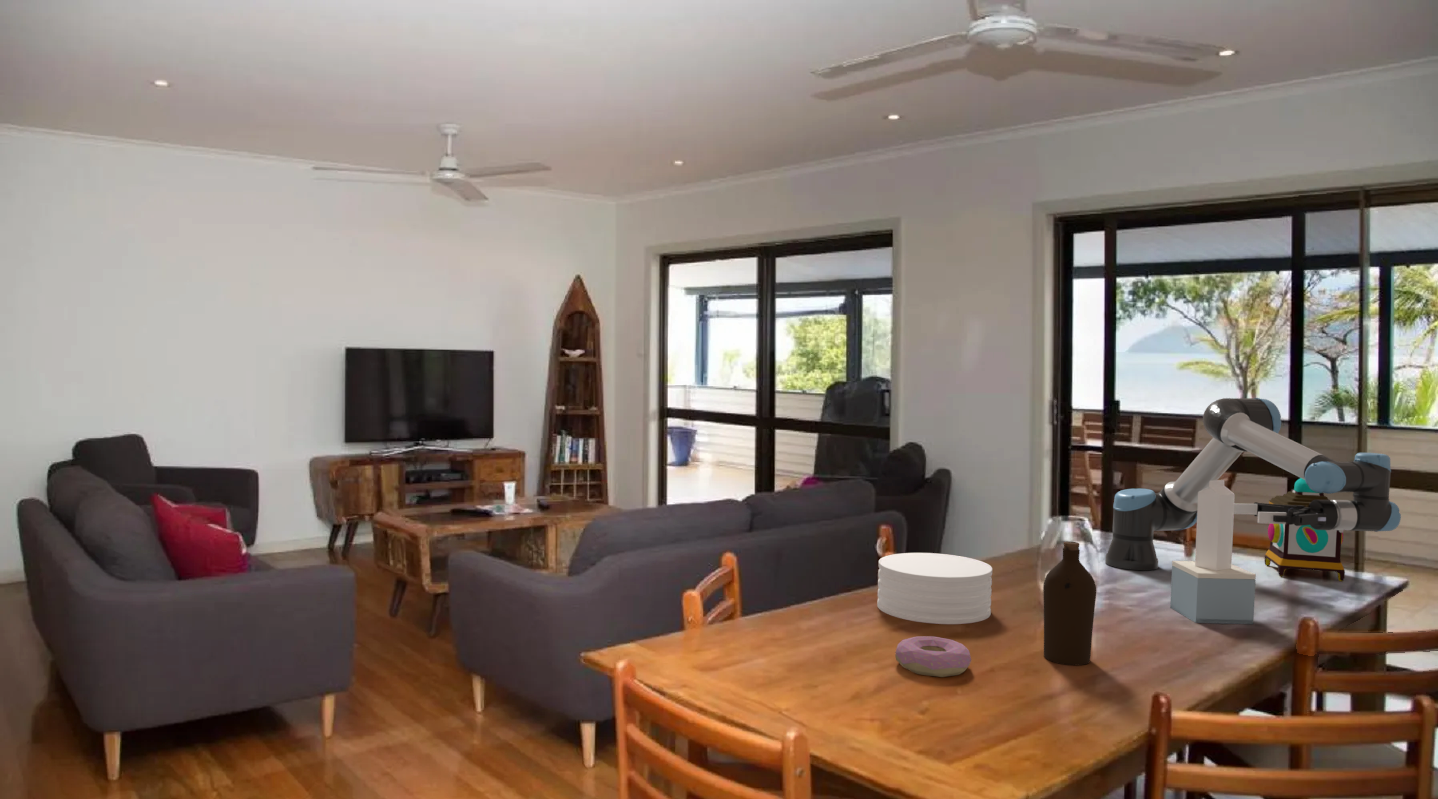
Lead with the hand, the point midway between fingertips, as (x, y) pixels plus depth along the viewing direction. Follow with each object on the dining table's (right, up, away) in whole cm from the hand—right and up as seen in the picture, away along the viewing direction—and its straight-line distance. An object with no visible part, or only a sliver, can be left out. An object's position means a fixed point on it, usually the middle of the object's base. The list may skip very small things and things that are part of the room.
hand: (1244, 512), depth 247 cm
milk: (-7, -14, +1) cm, 16 cm away
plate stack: (-77, -25, +3) cm, 81 cm away
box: (-8, -26, +2) cm, 27 cm away
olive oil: (-57, -27, -36) cm, 73 cm away
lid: (-7, -15, +1) cm, 17 cm away
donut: (-87, -27, -43) cm, 101 cm away
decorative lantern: (+46, -25, +53) cm, 75 cm away
